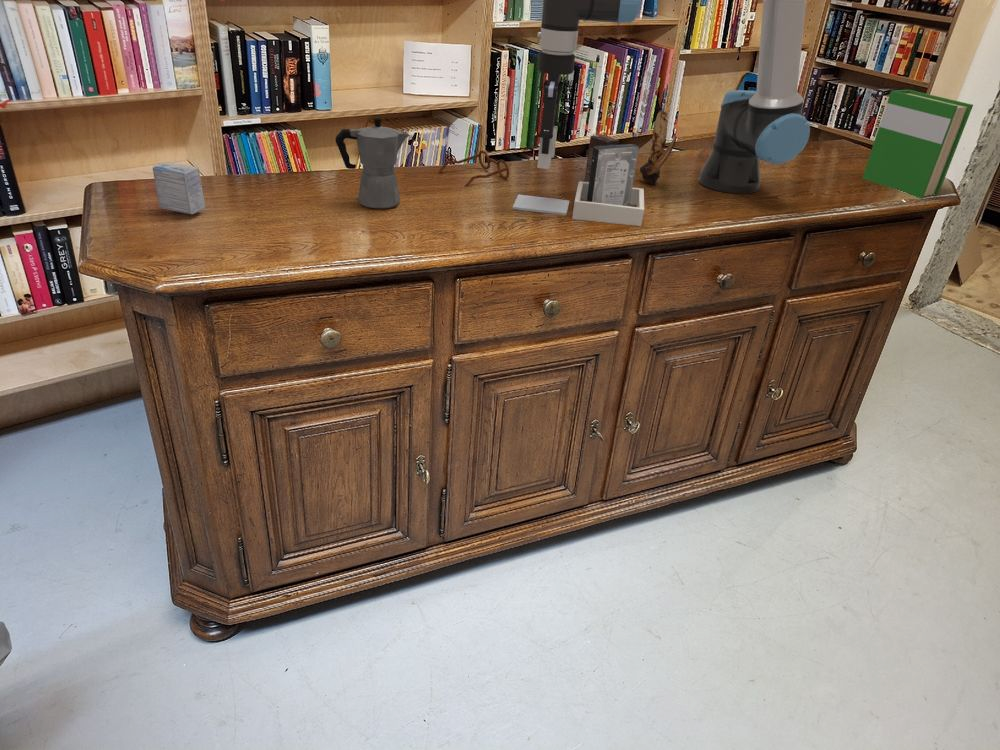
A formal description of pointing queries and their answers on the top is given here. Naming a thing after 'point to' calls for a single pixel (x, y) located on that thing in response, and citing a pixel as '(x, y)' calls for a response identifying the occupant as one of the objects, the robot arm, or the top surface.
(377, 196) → the coffeepot
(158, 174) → the medicine box
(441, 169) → the glasses
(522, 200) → the mat
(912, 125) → the hardback book
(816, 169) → the top surface
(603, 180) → the disk drive
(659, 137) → the bone fish hook
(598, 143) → the box
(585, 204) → the storage box
